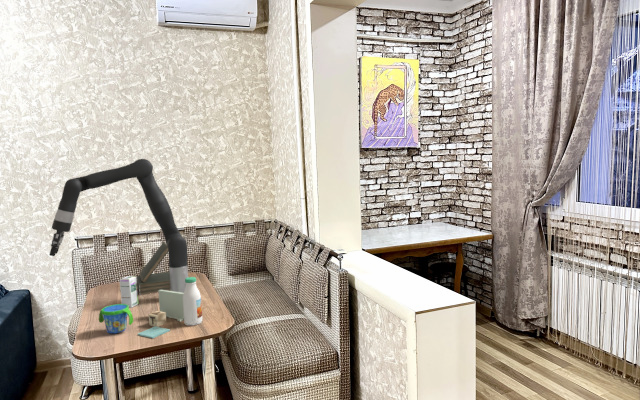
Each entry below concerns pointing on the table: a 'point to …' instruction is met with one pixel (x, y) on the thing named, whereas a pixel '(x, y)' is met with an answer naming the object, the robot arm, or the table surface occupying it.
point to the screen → (171, 304)
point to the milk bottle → (192, 303)
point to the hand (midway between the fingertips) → (53, 254)
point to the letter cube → (157, 318)
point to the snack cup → (115, 317)
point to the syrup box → (129, 291)
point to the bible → (154, 281)
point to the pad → (153, 332)
